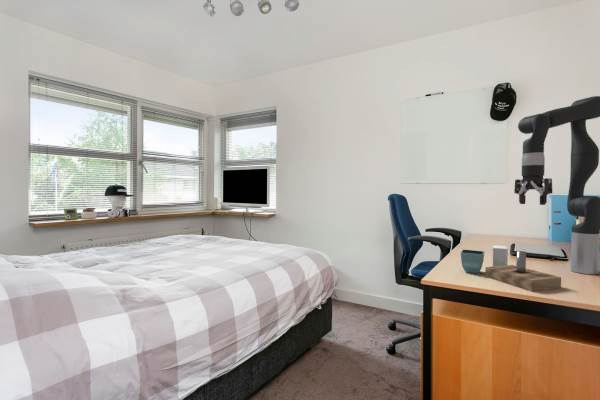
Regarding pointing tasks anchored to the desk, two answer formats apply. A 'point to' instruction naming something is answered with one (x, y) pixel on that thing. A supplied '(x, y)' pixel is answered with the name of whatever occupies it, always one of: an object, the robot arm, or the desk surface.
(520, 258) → the peg
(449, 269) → the desk surface
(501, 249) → the small box
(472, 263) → the flower pot
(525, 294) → the desk surface
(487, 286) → the desk surface
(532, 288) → the hole block
